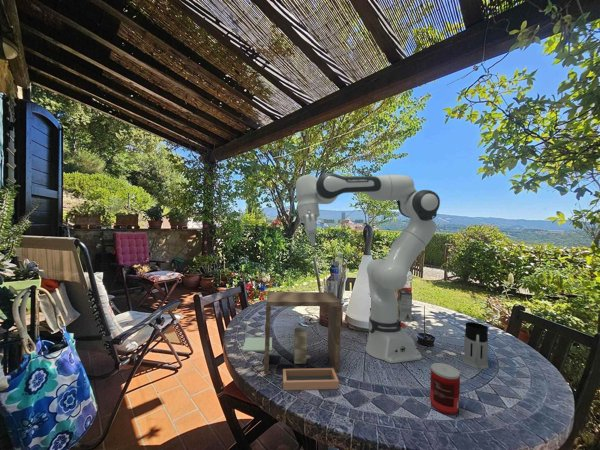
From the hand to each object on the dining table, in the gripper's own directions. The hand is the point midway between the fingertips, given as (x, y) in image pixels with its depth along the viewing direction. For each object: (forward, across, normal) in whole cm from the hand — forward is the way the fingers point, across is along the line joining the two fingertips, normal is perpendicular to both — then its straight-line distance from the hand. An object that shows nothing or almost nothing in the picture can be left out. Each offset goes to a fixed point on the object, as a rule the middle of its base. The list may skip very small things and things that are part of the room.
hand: (313, 245), depth 110 cm
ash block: (+44, -1, +11) cm, 45 cm away
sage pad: (+39, +11, +29) cm, 50 cm away
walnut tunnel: (+44, -3, +11) cm, 45 cm away
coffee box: (+47, +53, -49) cm, 86 cm away
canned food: (+54, -23, -32) cm, 67 cm away
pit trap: (+46, -15, +7) cm, 49 cm away
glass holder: (+55, +2, -57) cm, 79 cm away
